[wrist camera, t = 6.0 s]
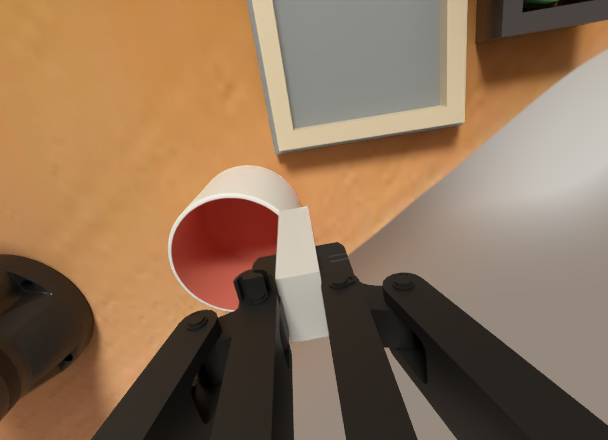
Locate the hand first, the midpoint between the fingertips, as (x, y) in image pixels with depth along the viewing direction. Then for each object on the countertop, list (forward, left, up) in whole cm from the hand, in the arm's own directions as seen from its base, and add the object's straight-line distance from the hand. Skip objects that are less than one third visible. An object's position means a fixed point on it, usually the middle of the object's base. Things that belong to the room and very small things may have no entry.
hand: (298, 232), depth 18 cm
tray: (+7, +10, -16) cm, 20 cm away
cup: (-5, -4, -16) cm, 18 cm away
